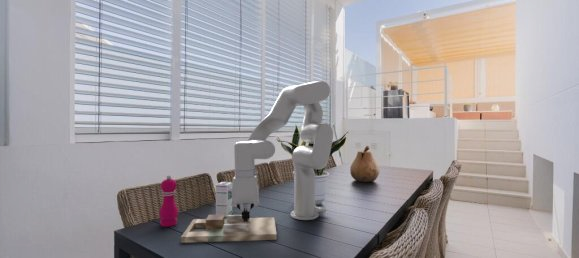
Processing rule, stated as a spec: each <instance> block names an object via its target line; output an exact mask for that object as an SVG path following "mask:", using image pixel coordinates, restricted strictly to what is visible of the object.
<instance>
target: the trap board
mask: <svg viewBox="0 0 579 258" xmlns="http://www.w3.org/2000/svg"><path fill="white" fill-rule="evenodd" d="M206 219H207V218H195V219H192V221H191V222H190V223H189V225H188V226H187V228H186V229H185V231H184V232H183V234H182V235H181V236H180V243H181V244H182V243H185V244H186V243H212V242H241V241H242V242H243V241H244V242H245V241H271V240H272V241H273V240H275V241H276V240H277V230H276V229H277V228H276V221H275V217H272V216H271V217H250V219H248V222H246V221H245V222H244V221H243V219H242V214H231V215H227V217H226V218H224V226H223V228H222V229H206Z"/></svg>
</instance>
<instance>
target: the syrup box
mask: <svg viewBox="0 0 579 258" xmlns="http://www.w3.org/2000/svg"><path fill="white" fill-rule="evenodd" d="M232 183H233V181H221V182H218V183H216V184H215V215H221V214H224V218H227V215H233V213H234V207H233V206H231V204H232Z"/></svg>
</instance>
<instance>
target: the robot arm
mask: <svg viewBox="0 0 579 258" xmlns="http://www.w3.org/2000/svg"><path fill="white" fill-rule="evenodd" d="M330 94H331V87H330V85H329V84H328V82H327V81H324V80H317V81H316V80H315V81H310V82H306V83H302V84H299V85H298V84H297V85H292V86H291V85H290V86H287V87H285V88H283V89H282V90H281V92H280V93H279V94H278V97H277V98H276V100H275V103H274V104H273V106H272V107H271V110H270V111H269V113H268V115H266V117H264V118H263V119H262V120H261V121H260V122H259V123H258V124H257V125H256V126H255V128H253V131H252V132H251V134H250V135H249V137H248V138H247V140H243V141H242V140H241V141H236V142H235V143H234V145H233V147H234V152H233V154H234V176H233V178H232V204H231V206H233V208H234V207H235V208H237V209H238V210H239V211H240V212H241V215H242V219H243V221H244V222H245V221H246V222H248V219H250V218H251V210H252V209H253V208H254V207H256V206H260V199H259V198H260V197H259V192H260V191H259V183H258V182H259V181H258V176H257V174H259V170H258V169H256V168H255V160H269V159H271V158H272V157H273V156H274V155H275V153H276V147H275V144H274V143H273V142H271V141H269V140H267V139H268V137H270V136H271V134H273V133H274V132H276V131H278V130H280V129H282V128H283V127H286V125H287V124H288V122H289V120H290V118H291V116H292V115H293V113H294V111H295V109H296V108H297V107H300V106H302V107H303V108H304V112H303V113H304V114H303V119H302V122H301V123H302V124H301V128H300V135H299V136H300V139H301V141H302V142H303V143H307V144H313V146H311V145H298V146H296V148H295V149H293V152H292V157H291V158H292V164H293V165H292V166H293V173H294V178H293V179H294V181H293V183H294V186H293V188H294V190H293V193H294V194H293V210H292V211H291V212H290V216H291V218H293V219H296V220H300V221H310V220H311V221H312V220H316V219H317V218H319V213H326V211H327V208H326V207H323V206H317V205H316V180H317V179H316V173H315V170H323V169H325V168H326V166H327V165H328V163H329V159H330V155H331V152H332V151H331V150H332V144H333V139H334V131H333V129H332V126H331V125H330V124H329V123H327V122H324V121H323V117H324V111H323V106H322V105H321V103H320V102H322V101H326V100H327V99H328V98H329V97H330ZM244 204H245V205H246V204H247V206H246V208H245V205H244Z"/></svg>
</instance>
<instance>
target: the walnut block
mask: <svg viewBox="0 0 579 258" xmlns="http://www.w3.org/2000/svg"><path fill="white" fill-rule="evenodd" d="M205 219H206V229H222V228H223V226H224V219H225V217H224V214H221V215H216V214H208V216H207V217H206V218H205Z"/></svg>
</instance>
